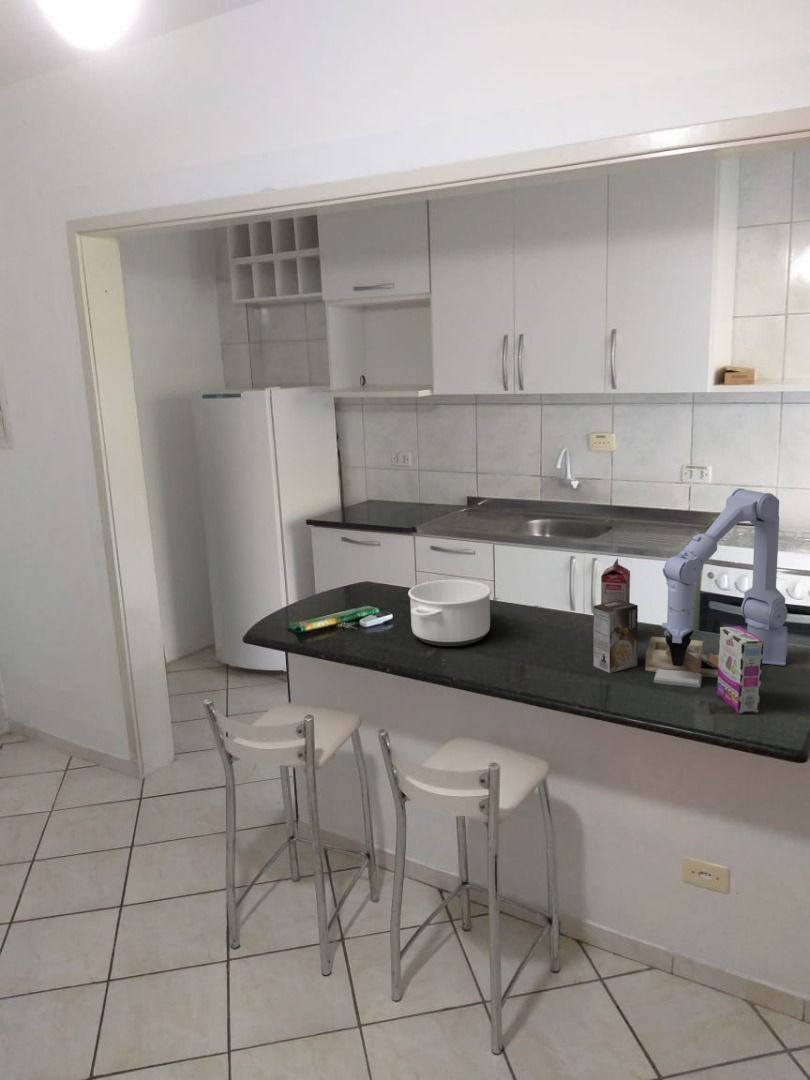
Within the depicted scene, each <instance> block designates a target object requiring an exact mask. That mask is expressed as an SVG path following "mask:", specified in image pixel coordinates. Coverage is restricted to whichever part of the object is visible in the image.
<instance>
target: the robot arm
mask: <svg viewBox="0 0 810 1080" xmlns="http://www.w3.org/2000/svg"><path fill="white" fill-rule="evenodd" d="M779 511H780V499H779V498H777V497H776V496H775V495H774V494H773V493H770V492H761V491H756V490H755V491H754V490H748V489H745V488H741V487H740V488H736V489H734V491H732V493H731V494H730V496H728V497H727V498H726V501H725V507H724V508H723V510H722V512H721V513H719V515H718V517H717V518H716V519H715V520H714V522H713V523H712V524H711V525H710V526H709V528H708V529H707V530H706V532H704V533H697V534H695V535H694V536H693V537H692V538H691V539H692V540H691V541H690V542H689V543H688V544H687V545H686V546H685V547H684V548H683V549H682V550H681V551H680V552H679V553H678V555H674V556H672V557H669V558H668V559H667V561H666V562H665V563H664V566H663V568H662V573H663V576H664V577H665V579H666V585H667V611H666V612H667V617H666V619H667V620H666V622H662V623H661V628H662V629H666V630H668V632H669V634H670V636H665V638H666V642H667V644H668V646H669V649H670V652H671V658H672V663H673V666H682V665H683V662H684V658H685V653H686V650H687V647H688V646H689V644H690V642H691V640H692V639H691V637H692V635H693V634H694V633H693V632H694V624H693V623H694V620H693V619H694V596H695V595H694V593H695V583H696V582H697V581H698V580H699V578H700V577H701V572H702V571H703V569H704V565H705V564H706V563H707V562H708V561H709V559H711V557H712V556H714V554H715V553H716V552H717V551H718V542H719V541H720V540H722V539H723V538H724V537H725V536H726V535H727V534H728V533H729V532H730V531H731V530H732V529H734V527H735V526H737V525H738V524H739V523H741V522H750V523H751V524H752V525H753V526H754V533H753V536H754V538H753V558H752V560H753V561H752V562H753V563H752V581H751V582H752V584H751V585H752V586H751V587H750V588H749V589H747V590H745V592H744V593H743V594H744V595H743V596H744V597H743V601H742V603H741V607H740V612H741V615H742V617H743V618H744V619H745V623H746V624H747V626H746V627H747V629H746V631H748V632H749V633H751V634H752V635H754V636H755V637H757V638H759V639H760V640H762V641H763V642H764V643H763V658H762V665H763V664H765V665H766V664H767V665H775V666H786V665H787V663H786V662H787V657H788V648H787V647H788V646H787V645H788V626H784V624H785V623H786V620H787V618H788V609H787V608H788V607H787V606H786V598H785V596H784V595H783V594H782V593H781V592H780V590H779V589H778V588H777V575H778V557H779V556H778V554H779V553H778V551H779V535H780V534H779V532H780V515H779V514H780V513H779Z"/></svg>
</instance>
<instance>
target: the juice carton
mask: <svg viewBox="0 0 810 1080" xmlns="http://www.w3.org/2000/svg"><path fill="white" fill-rule="evenodd" d="M600 578H601V579H600V583H601V584H600V590H601V591H600V604H604V603H609V602H613V601H618V600H623V601H626V602H629V603H631V601H630V599H631V598H630V596H631V595H630V593H631V591H630V589H631V570H629V569H628V568H626V567H624V566H622V565H621V564H619V558H618V557H617V558H616V560H615V561H614V562H613V565H612V566H609V567H607V568H606V569H604V570H603V572H602V574H601V577H600Z"/></svg>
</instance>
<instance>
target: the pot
mask: <svg viewBox="0 0 810 1080" xmlns="http://www.w3.org/2000/svg"><path fill="white" fill-rule="evenodd" d="M491 594H492V588H491V587H490V586H489V585H487V584H485V583H482V582H479V581H474V580H468V579H439V580H438V579H437V580H432V581H425V582H423V583H420V584H417V585H414V586H413V587H411V588H410V589H409V590H408V593H407V596H408V597H409V599H410V600H409V601H410V602H409V603H410V619H411V621H410V622H411V623H410V626H411V630H412V633H413V634H414V636H415V637H416V638H417V639H418V640H419V641H421V642H423V643H426V644H429V645H433V646H439V647H460V646H461V647H462V646H466V645H470V644H473V643H477V642H479V641H481V640H482V639H483V638H485V637H486V636H487V634H488V633H489V631H490V628H491V609H490V608H491V605H490V603H491V602H490V601H491V600H490V599H491V598H490V595H491Z"/></svg>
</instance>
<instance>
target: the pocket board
mask: <svg viewBox="0 0 810 1080" xmlns="http://www.w3.org/2000/svg"><path fill="white" fill-rule="evenodd" d="M689 645H690V646H692V647H693V648H694V649H696V650H697V651H698V653H690V652H689V651H687V650H686V651H687V652H688V653H690V654H691V655H693V656H694V657H695V658H697V659H698V660H700V661H701V664H700V668H699V669H698V671H697V672H696V673H700V674H702V677H705V678H706V677H707V678H715V679H718V669H714V668H713V669H712V668H702V664H703V661H702V660H701V653H702V654H703V655H705V656H706V657H708V656H709V654H710V653H704V640H695V639H691V642H690V644H689ZM667 647H668V644H667V642H666V637H662V636H651V637H650V641H649V643H648V647H647V648H646V651H645V652H646V653H645V669H644V670H645V671H647V672H655V673H656V671H657V670H658V669H664V670H674V671H684V672H691V671H690V670H688V669H687V668H686V667H684V666H683V665H682V666H673V663H672V658H671V657H669V656H668V655H666V654H665V653H666V650H667ZM714 655H715V656H716V657H718V658H719V654H714Z"/></svg>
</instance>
